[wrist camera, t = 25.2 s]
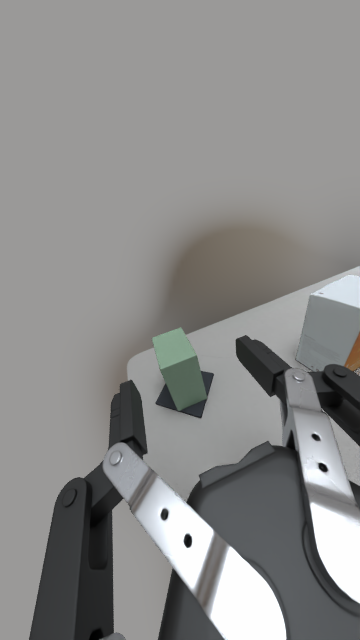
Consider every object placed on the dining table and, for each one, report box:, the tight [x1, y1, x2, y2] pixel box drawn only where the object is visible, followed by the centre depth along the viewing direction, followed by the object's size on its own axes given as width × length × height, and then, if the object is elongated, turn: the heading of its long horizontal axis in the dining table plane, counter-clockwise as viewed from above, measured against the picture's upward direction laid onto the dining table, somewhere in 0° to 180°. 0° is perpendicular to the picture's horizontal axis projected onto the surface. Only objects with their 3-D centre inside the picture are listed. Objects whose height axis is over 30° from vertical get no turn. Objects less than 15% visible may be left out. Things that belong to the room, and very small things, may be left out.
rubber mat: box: [156, 371, 214, 418], centre depth 30 cm, size 8×8×1 cm
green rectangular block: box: [152, 328, 207, 411], centre depth 27 cm, size 7×5×10 cm
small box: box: [296, 275, 360, 372], centre depth 25 cm, size 8×6×13 cm
